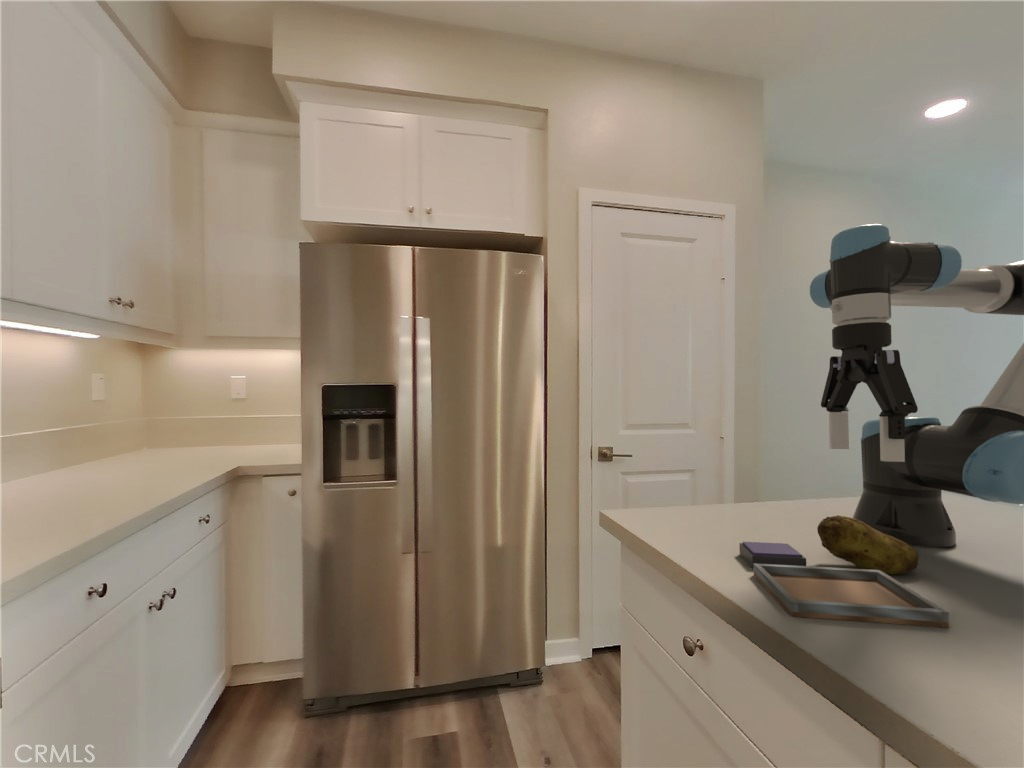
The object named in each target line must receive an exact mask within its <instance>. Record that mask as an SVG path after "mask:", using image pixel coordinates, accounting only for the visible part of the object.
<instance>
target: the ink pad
mask: <svg viewBox="0 0 1024 768" xmlns="http://www.w3.org/2000/svg"><path fill="white" fill-rule="evenodd" d="M739 555H740V557H742V559H743V560H744V561H745V562H746V563H747V564H748V565H749V566H750V567H751V568H752V569H754V567H753V563H756V564H775V565H794V566H807V558H806V557H805V556H804V555H803V554H802V553H800V552H799V551H798V550H797V549H796V548H794V547H792V546H791V544H788V543H783V542H780V543H779V542H759V541H758V542H756V541H742V542H740V543H739Z"/></svg>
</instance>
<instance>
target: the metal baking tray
mask: <svg viewBox="0 0 1024 768" xmlns="http://www.w3.org/2000/svg"><path fill="white" fill-rule="evenodd" d="M753 567H754V568H753V576H754V577H755V578H756V579H757V580H758V581H759V583H760V584H761V585H763V587H764V588H765V590H767V591H768V592H769V594H770V595H771V596H772V597H773V598H774V599H775V600H776V601H777V602H778V603H779V605H780V606H781V607H782V608H783V609H784V610H785V611H786V612H787V613H788V615H790V617H795V618H797V617H798V618H811V619H812V618H813V619H824V620H839V621H840V620H841V621H852V622H853V621H855V622H870V623H883V624H896V625H897V624H898V625H910V626H911V625H912V626H924V627H926V626H927V627H938V628H939V627H940V628H941V627H942V628H950V613H949V611H947V609H944V608H942V607H941V606H939V605H938V604H936V603H934V602H933V601H931V600H929V599H927V598H926V597H925V596H922V595H921V594H920V593H918V592H916V591H915V590H913V589H911V588H910V587H908V586H906V585H905V584H903V583H901V582H900V581H898V580H897V579H895V578H894V577H892V576H890V574H885V573H884V572H882V571H880V570H870V569H862V568H848V567H830V566H829V567H828V566H826V567H825V566H811V565H806V566H794V565H775V564H756V563H753Z"/></svg>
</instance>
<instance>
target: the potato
mask: <svg viewBox="0 0 1024 768" xmlns="http://www.w3.org/2000/svg"><path fill="white" fill-rule="evenodd" d="M817 534H818V536H819V539H820V542H821V546H822V547H823V548H825V549H826V550H827V551H828V552H829V553H830V554H831V555H833V556H834V557H836V558H839V559H841V560H844V561H846V562H849V563H851V564H853V565H854V566H857V568H859V569H870V570H880V571H882V572H884V573H885V574H887V575H901V574H905V573H909V572H912V571H914V570H915V569H917V568H918V565H919V560H920V559H919V558H920V556H919V552H917V551H916V549H915V548H914V547H912V545H908V544H907V543H905V542H903V541H901V540H899V539H897V538H894V537H892V536H889V535H887V534H884V533H882V532H880V531H878V530H875V529H874V528H872V527H870V526H869V525H867V524H865V523H864V522H862V521H859V520H857V519H854V518H853V517H850V516H849V517H848V516H845V515H843V516H842V515H838V514H837V515H833V516H826V518H823V519H822V520H821V521H820V522H819V524H818V525H817Z"/></svg>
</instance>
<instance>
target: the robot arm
mask: <svg viewBox="0 0 1024 768" xmlns="http://www.w3.org/2000/svg"><path fill="white" fill-rule="evenodd" d="M962 263H963V259H962V256H961V254H960V251H959V250H958V249H957V248H955V247H954V246H951V245H949V244H944V243H935V242H934V241H933V242H931V241H928V242H901V241H900V242H898V241H892V240H891V236H890V230H889V227H888V226H885V225H884V224H880V223H873V224H862V225H858V226H853V227H850V228H847V229H844V230H842V231H840V232H838V233H837V234H835V235H834V236H833V238H832V239H831V245H830V255H829V264H830V265H829V266H830V269H828V270H826V271H823V272H822V273H819V274H818V275H816V276H814V278H813V279H812V281H811V282H810V285H809V296H810V298H811V300H812V302H813V303H814V304H815V305H816V306H817V307H820V308H822V309H829V310H831V322H832V324H833V325H836V326H834V327H833V328H832V329H831V340H832V341H831V342H832V343H831V345H832V348H833V349H834V350H841V355H840V356H835V355H833V356H830V358H829V366H828V367H829V369H828V372H827V376H826V380H825V385H824V388H823V389H824V390H823V393H822V397H821V401H820V406H821V408H825V409H826V412H828V427H829V428H828V431H829V433H828V434H829V449H831V450H849V449H850V447H849V446H850V433H849V432H850V431H849V430H850V429H849V411H850V410H849V408H848V407H847V406H848V404H849V402H850V400H851V398H852V396H853V394H854V392H855V390H856V388H857V386H858V385H859V384H861V383H864V384H866V385H867V387H868V389H869V391H870V392H871V394H872V395H873V397H874V399H875V401H876V403H877V404H878V406H879V408H880V409H881V411H880V413H879V414H878V416H879V418H877V419H870V420H868V421H865V422H864V423H863V425H862V426H861V427H862V428H861V438H860V444H861V446H860V447H861V463H862V464H861V467H862V469H861V470H862V472H861V473H862V493H861V495H860V498H859V500H858V504H857V506H856V508H855V510H854V513H853V516H852V518H854V519H857V520H859V521H862V522H864V523H865V524H867V525H869V526H870V527H872V528H874V529H875V530H878V531H880V532H882V533H884V534H887V535H889V536H892V537H894V538H897V539H899V540H901V541H903V542H905V543H907V544H908V545H910V546H914V547H924V548H947V547H948V548H949V547H953V546H955V545H956V543H957V538H956V537H957V536H956V534H957V533H956V530H955V527H954V525H953V523H952V521H951V518H950V516H949V513H948V511H947V509H946V507H945V504H944V502H943V500H942V491H944V492H950V493H953V494H958V495H965V496H969V497H973V498H977V499H980V500H983V501H987V502H993V503H996V502H997V503H1000V502H1001V503H1006V504H1010V505H1011V504H1012V505H1024V342H1023V343H1022V344H1021V346H1020V347H1019V349H1018V350H1017V351H1016V353H1015V354H1014V356H1013V358H1012V359H1011V361H1010V362H1009V363H1008V365H1007V366H1006V368H1005V369H1004V371H1003V372H1002V374H1001V375H1000V376H999V378H998V379H997V381H996V382H995V384H994V385H993V386H992V387H991V389H990V391H989V392H988V394H987V395H986V397H985V398H984V399H983V401H982V402H981V404H980V405H974V406H970V407H966V408H964V409H963V410H962V411H961V413H960V414H959V415H958V417H957V418H956V419H955V421H954V422H953V424H951V425H942V423H941V421H940V419H939V418H938V417H935V416H919V417H918V416H917V417H916V416H914V417H908V416H909V415H910V414H916V413H917V412H918V409H919V408H918V405H917V401H916V400H915V397H914V395H913V392H912V390H911V387H910V385H909V382H908V380H907V377H906V374H905V372H904V369H903V366H902V364H901V355H900V354H901V353H900V351H899V350H898V349H883V348H888V347H889V346H891V345H892V325H891V324H890V323H889V322H887V321H890V320H891V319H892V306H893V307H897V306H899V307H929V308H930V307H933V308H934V307H935V308H961V309H962V308H963V310H966V311H967V312H970V313H974V314H990V315H991V314H992V315H1011V316H1024V259H1023V260H1019V261H1015V262H1011V263H1006V264H1000V265H996V264H995V265H994V264H991V265H990V264H989V265H988V264H987V265H982V266H980V267H977V268H974V269H962Z"/></svg>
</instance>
